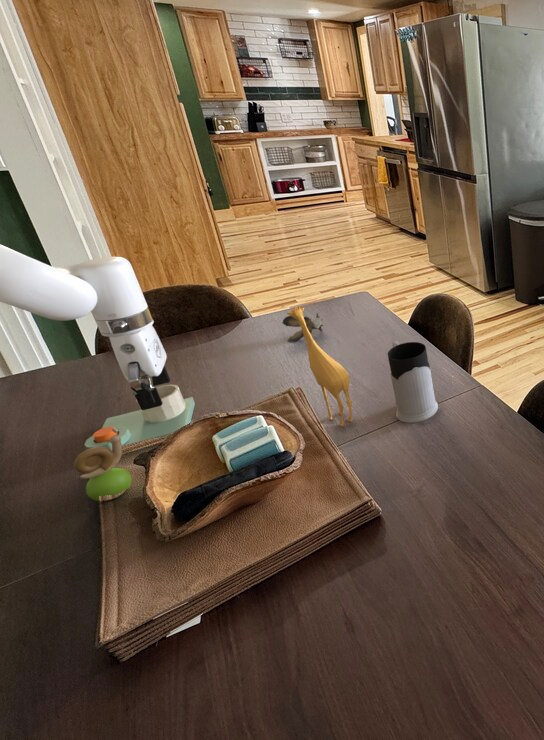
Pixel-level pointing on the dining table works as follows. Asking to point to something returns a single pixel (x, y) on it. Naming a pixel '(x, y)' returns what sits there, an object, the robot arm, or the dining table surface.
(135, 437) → the scale
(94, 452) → the snail figurine
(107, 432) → the button
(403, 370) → the glass holder
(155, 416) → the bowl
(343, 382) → the giraffe
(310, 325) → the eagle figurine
